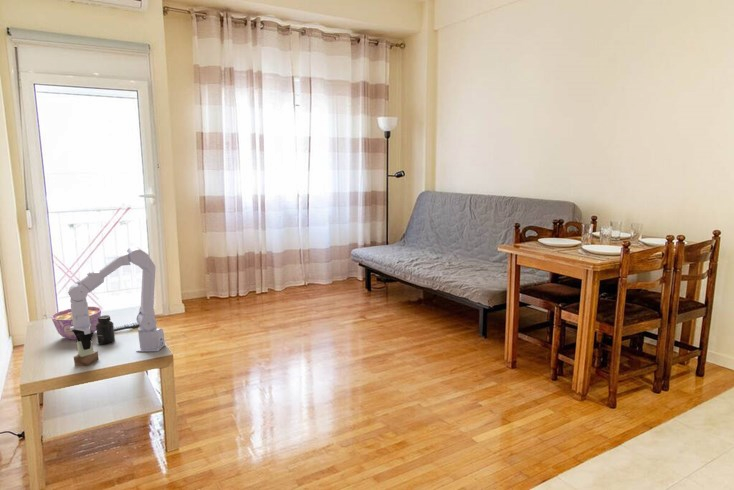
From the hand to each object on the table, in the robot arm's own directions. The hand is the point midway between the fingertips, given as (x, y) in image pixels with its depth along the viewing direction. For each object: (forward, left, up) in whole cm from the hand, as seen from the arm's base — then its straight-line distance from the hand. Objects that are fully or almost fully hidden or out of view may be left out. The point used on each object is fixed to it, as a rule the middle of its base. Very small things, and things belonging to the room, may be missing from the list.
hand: (84, 347), depth 193 cm
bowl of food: (+21, -30, -7) cm, 37 cm away
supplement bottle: (+4, -22, -7) cm, 23 cm away
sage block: (0, 0, -3) cm, 3 cm away
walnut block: (0, 0, -7) cm, 7 cm away
